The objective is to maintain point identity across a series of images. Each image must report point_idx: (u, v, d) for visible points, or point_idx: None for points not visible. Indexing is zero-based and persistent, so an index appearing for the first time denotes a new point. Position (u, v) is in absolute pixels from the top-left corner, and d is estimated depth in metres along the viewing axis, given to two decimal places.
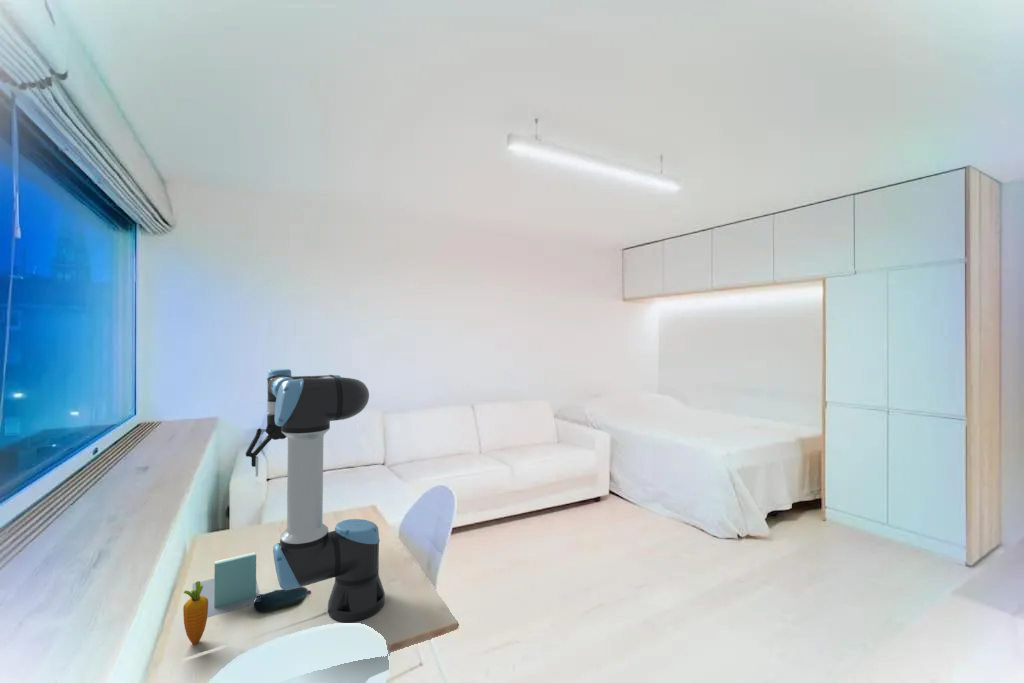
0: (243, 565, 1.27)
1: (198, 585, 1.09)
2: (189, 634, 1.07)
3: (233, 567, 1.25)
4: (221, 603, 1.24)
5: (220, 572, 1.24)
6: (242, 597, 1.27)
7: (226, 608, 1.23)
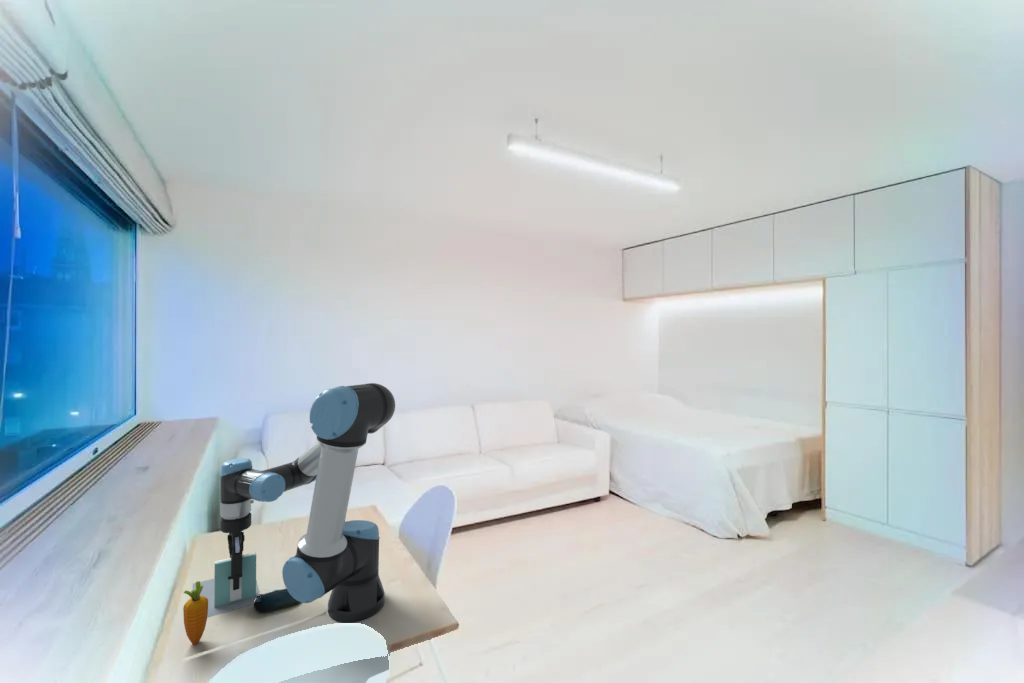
0: (243, 565, 1.27)
1: (198, 585, 1.09)
2: (189, 634, 1.07)
3: None
4: (221, 603, 1.24)
5: (220, 572, 1.24)
6: (242, 597, 1.27)
7: (226, 608, 1.23)
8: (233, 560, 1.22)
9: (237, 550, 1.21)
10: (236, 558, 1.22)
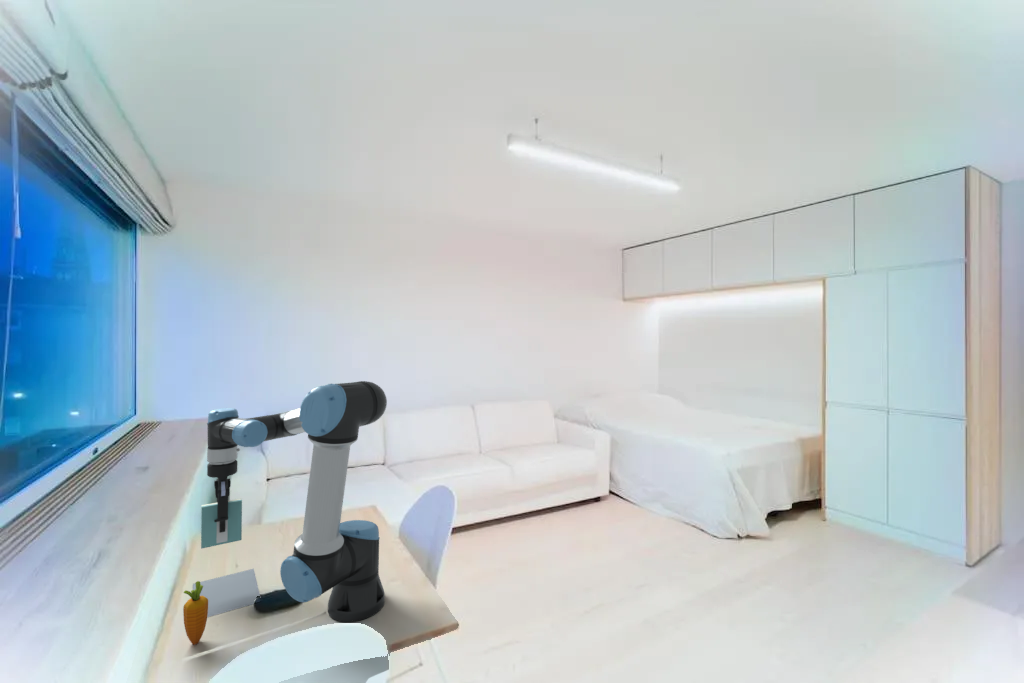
0: (229, 510, 1.32)
1: (198, 585, 1.09)
2: (189, 634, 1.07)
3: None
4: (208, 545, 1.29)
5: (207, 515, 1.29)
6: (228, 540, 1.32)
7: (226, 608, 1.23)
8: (219, 503, 1.27)
9: (223, 493, 1.27)
10: (222, 501, 1.28)
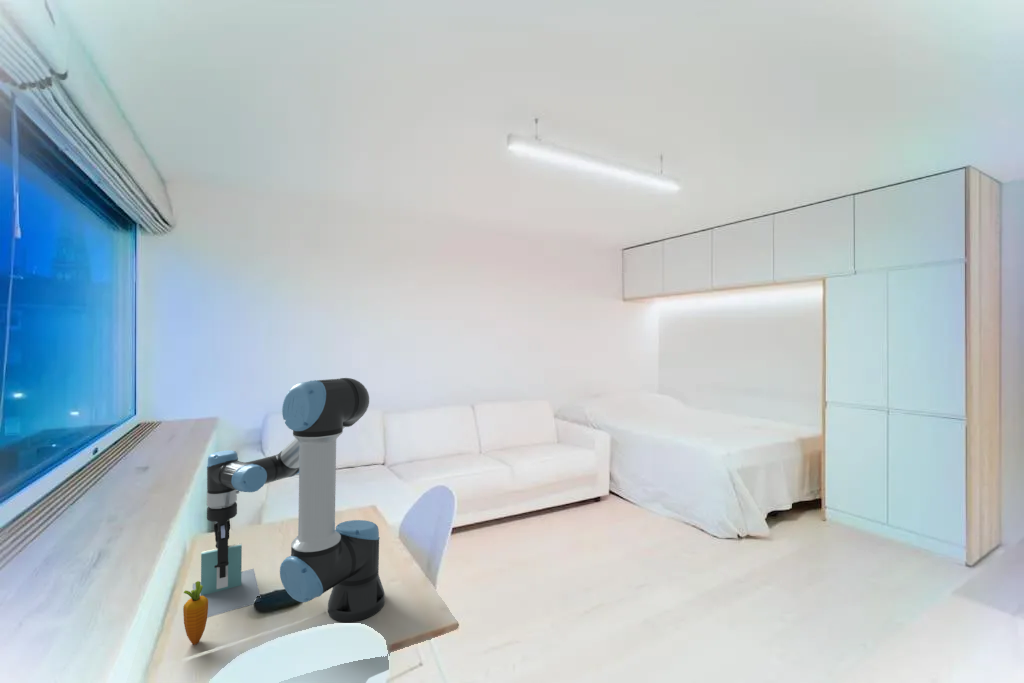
0: (229, 555, 1.32)
1: (198, 585, 1.09)
2: (189, 634, 1.07)
3: None
4: (207, 591, 1.29)
5: (206, 562, 1.29)
6: (228, 586, 1.32)
7: (226, 608, 1.23)
8: (219, 546, 1.26)
9: (223, 534, 1.27)
10: (222, 544, 1.26)
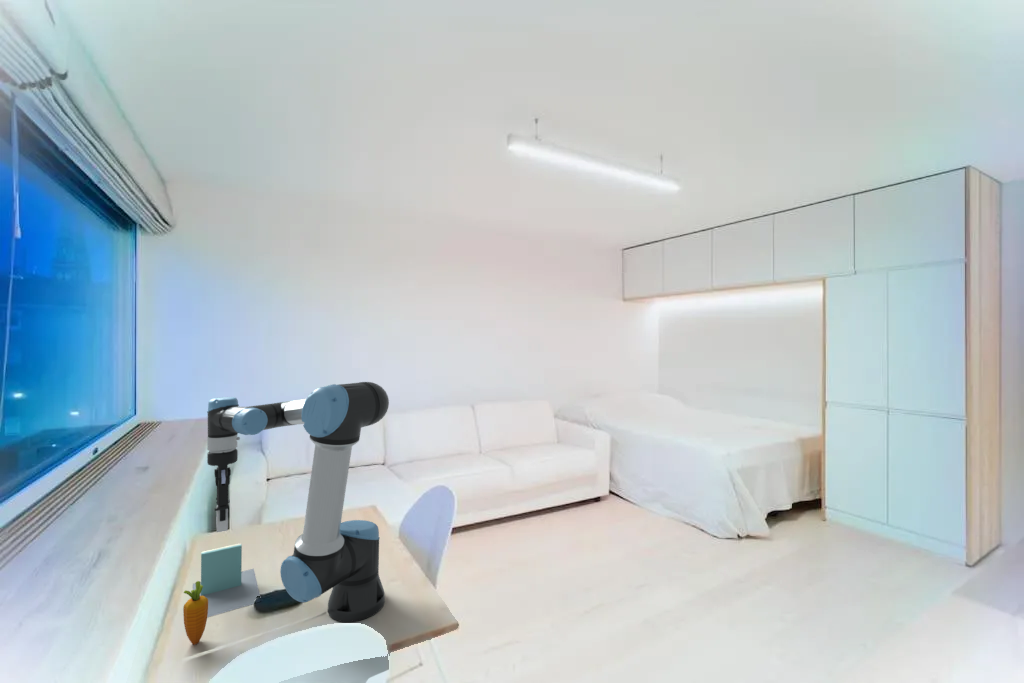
0: (229, 555, 1.32)
1: (198, 585, 1.09)
2: (189, 634, 1.07)
3: (219, 557, 1.31)
4: (207, 591, 1.29)
5: (206, 562, 1.29)
6: (228, 586, 1.32)
7: (226, 608, 1.23)
8: (219, 491, 1.27)
9: (223, 481, 1.27)
10: (222, 489, 1.27)
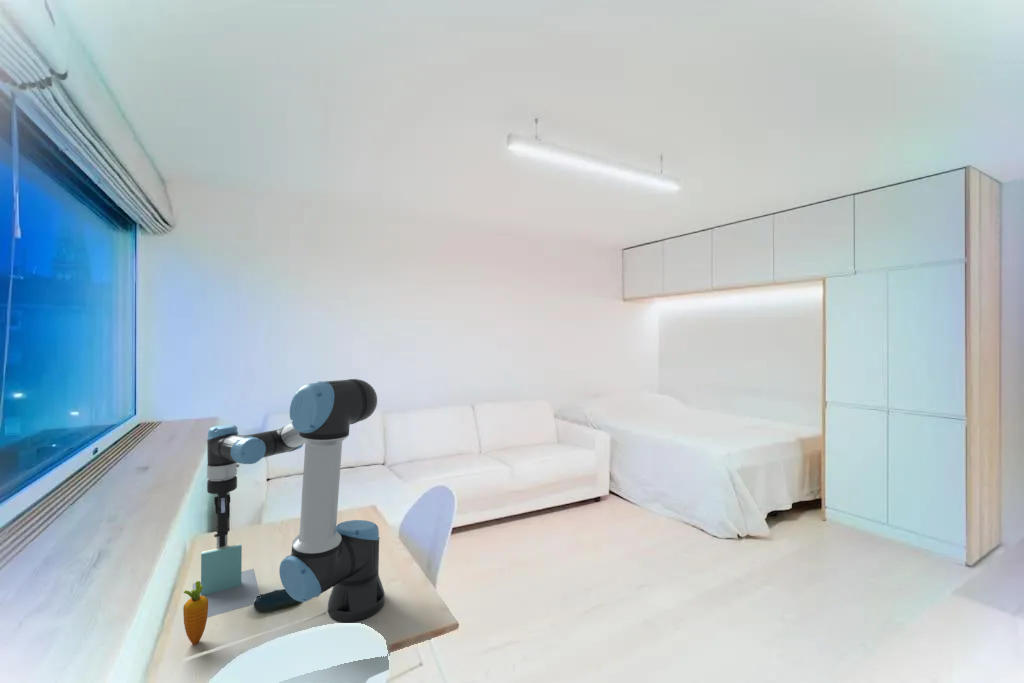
0: (229, 555, 1.32)
1: (198, 585, 1.09)
2: (189, 634, 1.07)
3: (219, 557, 1.31)
4: (207, 591, 1.29)
5: (206, 562, 1.29)
6: (228, 586, 1.32)
7: (226, 608, 1.23)
8: (219, 519, 1.29)
9: (223, 510, 1.29)
10: (222, 517, 1.29)
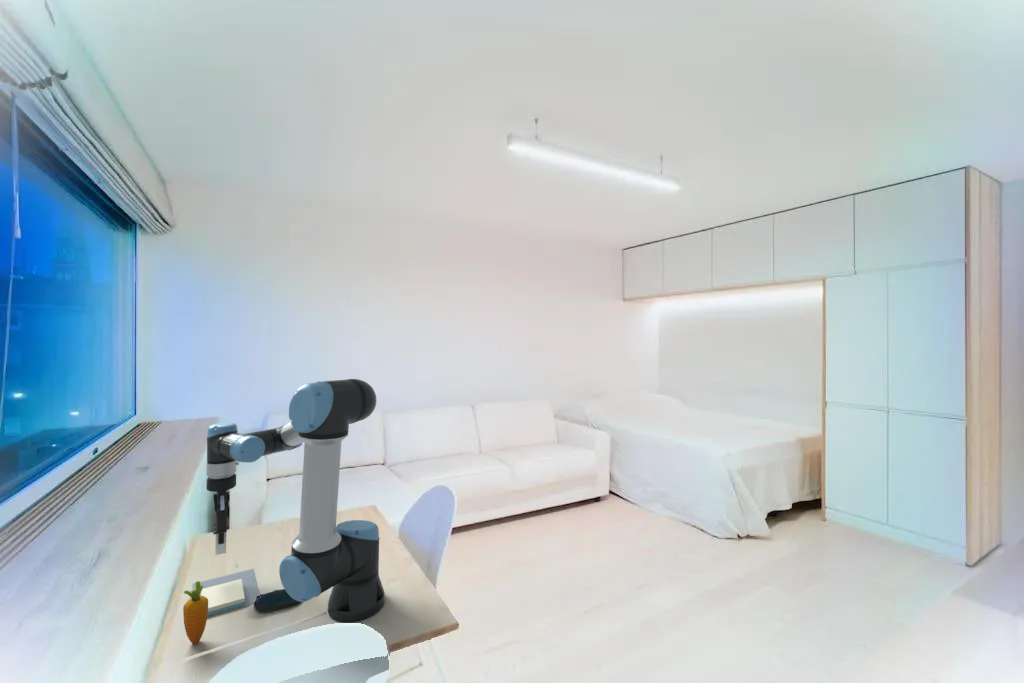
0: None
1: (198, 585, 1.09)
2: (189, 634, 1.07)
3: None
4: None
5: None
6: None
7: None
8: (218, 517, 1.30)
9: (222, 508, 1.29)
10: (221, 515, 1.30)
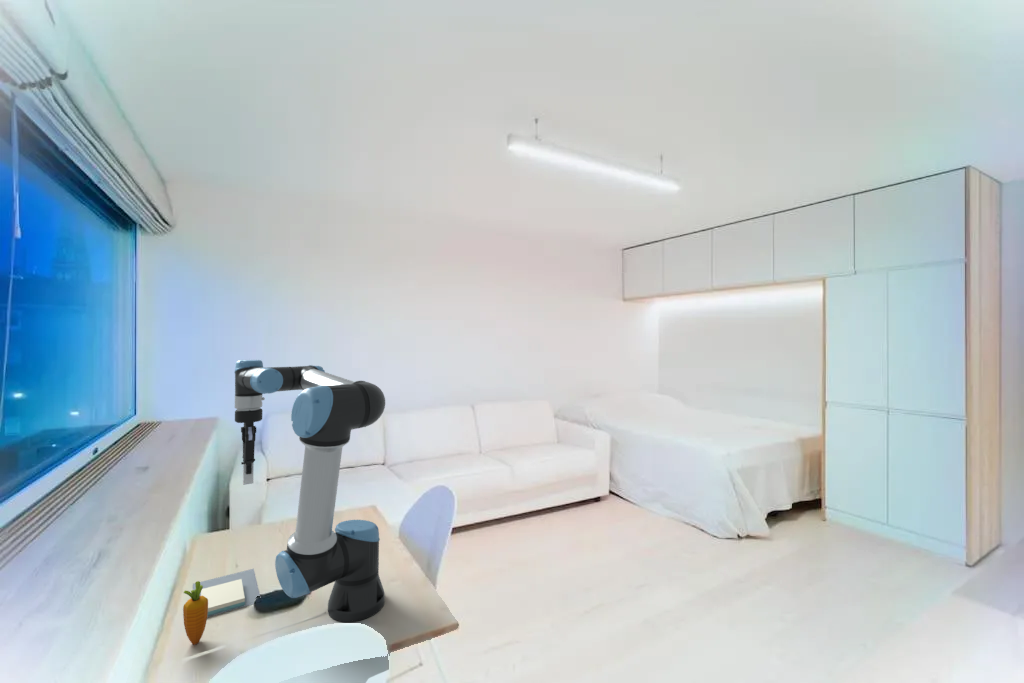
0: None
1: (198, 585, 1.09)
2: (189, 634, 1.07)
3: None
4: None
5: None
6: None
7: None
8: (246, 446, 1.36)
9: (250, 437, 1.35)
10: (249, 445, 1.36)
